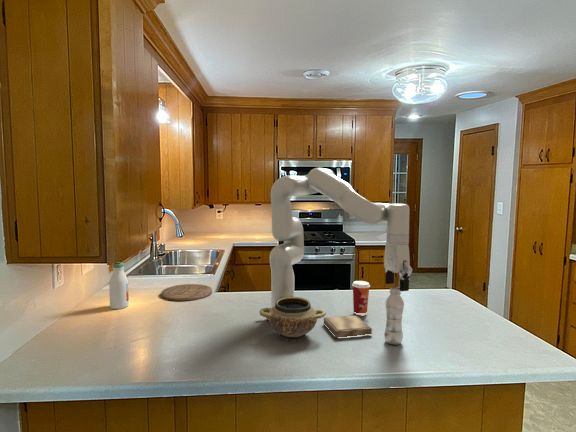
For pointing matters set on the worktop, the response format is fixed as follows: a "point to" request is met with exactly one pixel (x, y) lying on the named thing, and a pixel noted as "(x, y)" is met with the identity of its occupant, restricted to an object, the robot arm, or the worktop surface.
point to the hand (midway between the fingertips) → (396, 287)
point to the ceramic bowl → (292, 317)
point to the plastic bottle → (394, 317)
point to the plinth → (347, 326)
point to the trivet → (186, 292)
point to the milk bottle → (118, 288)
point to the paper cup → (360, 296)
